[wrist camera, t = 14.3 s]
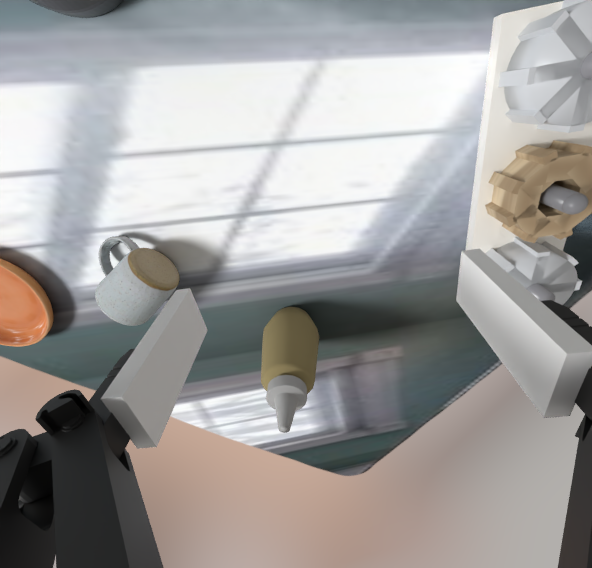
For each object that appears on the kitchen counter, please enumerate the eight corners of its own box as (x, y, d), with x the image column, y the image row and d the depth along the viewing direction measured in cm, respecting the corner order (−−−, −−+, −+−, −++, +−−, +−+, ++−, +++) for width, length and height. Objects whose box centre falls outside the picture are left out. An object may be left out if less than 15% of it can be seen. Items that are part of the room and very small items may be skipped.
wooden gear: (481, 232, 37) (501, 247, 33) (492, 150, 33) (517, 156, 29) (564, 220, 36) (595, 235, 32) (588, 134, 32) (628, 139, 28)
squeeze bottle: (329, 320, 47) (340, 429, 31) (294, 349, 50) (287, 460, 35) (289, 289, 44) (279, 391, 29) (255, 322, 47) (229, 429, 32)
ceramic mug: (191, 270, 43) (169, 300, 36) (160, 304, 46) (134, 337, 40) (124, 218, 40) (86, 240, 33) (95, 258, 43) (55, 286, 36)
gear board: (493, 17, 28) (563, -14, 21) (625, -11, 27) (753, -55, 19) (459, 302, 44) (491, 345, 37) (541, 293, 43) (592, 335, 35)
